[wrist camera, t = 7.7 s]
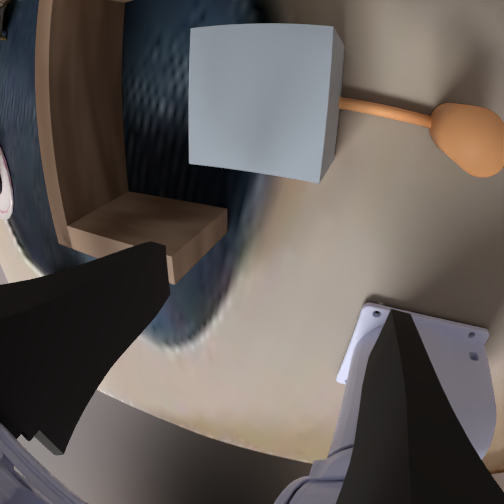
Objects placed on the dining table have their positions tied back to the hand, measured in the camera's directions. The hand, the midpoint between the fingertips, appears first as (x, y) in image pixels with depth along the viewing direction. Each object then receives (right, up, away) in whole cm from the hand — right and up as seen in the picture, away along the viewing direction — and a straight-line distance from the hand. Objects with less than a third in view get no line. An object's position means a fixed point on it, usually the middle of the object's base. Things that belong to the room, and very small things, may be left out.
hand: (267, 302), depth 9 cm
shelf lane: (-6, +11, +7) cm, 15 cm away
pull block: (+4, +9, +4) cm, 10 cm away
